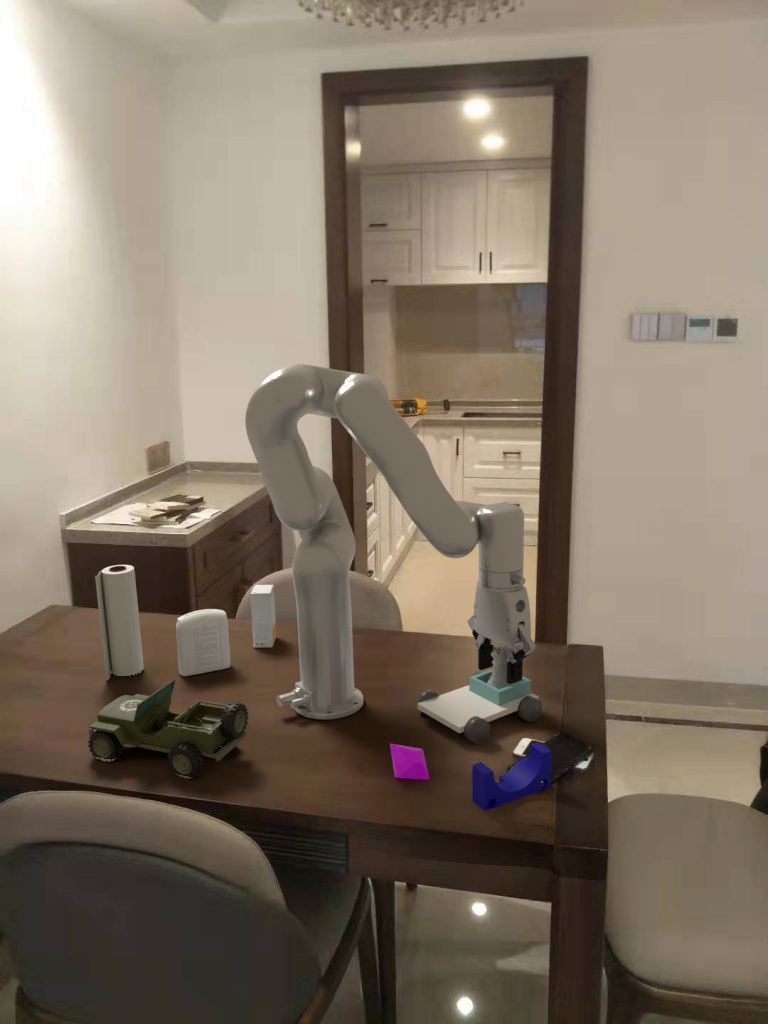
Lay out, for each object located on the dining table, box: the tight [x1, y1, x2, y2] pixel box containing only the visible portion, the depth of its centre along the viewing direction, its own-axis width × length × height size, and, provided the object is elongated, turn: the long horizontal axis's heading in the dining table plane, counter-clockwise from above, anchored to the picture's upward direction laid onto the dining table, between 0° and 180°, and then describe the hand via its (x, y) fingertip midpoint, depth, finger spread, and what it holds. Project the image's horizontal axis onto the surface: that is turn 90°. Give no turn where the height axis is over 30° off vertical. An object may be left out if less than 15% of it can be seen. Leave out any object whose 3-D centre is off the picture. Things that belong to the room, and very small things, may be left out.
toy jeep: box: [87, 678, 249, 779], centre depth 140 cm, size 12×25×11 cm, turn 69°
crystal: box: [389, 743, 430, 780], centre depth 133 cm, size 5×5×5 cm
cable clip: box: [471, 741, 552, 812], centre depth 128 cm, size 12×4×6 cm, turn 120°
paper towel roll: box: [94, 564, 145, 680], centre depth 170 cm, size 7×6×21 cm
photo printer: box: [175, 608, 231, 677], centre depth 171 cm, size 10×4×12 cm, turn 116°
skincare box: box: [249, 584, 277, 649], centre depth 184 cm, size 6×4×12 cm
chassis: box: [415, 668, 543, 745], centre depth 151 cm, size 18×15×6 cm
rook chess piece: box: [487, 645, 512, 689], centre depth 152 cm, size 4×4×8 cm
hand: (499, 673), depth 153 cm, fingers open, 6 cm apart
